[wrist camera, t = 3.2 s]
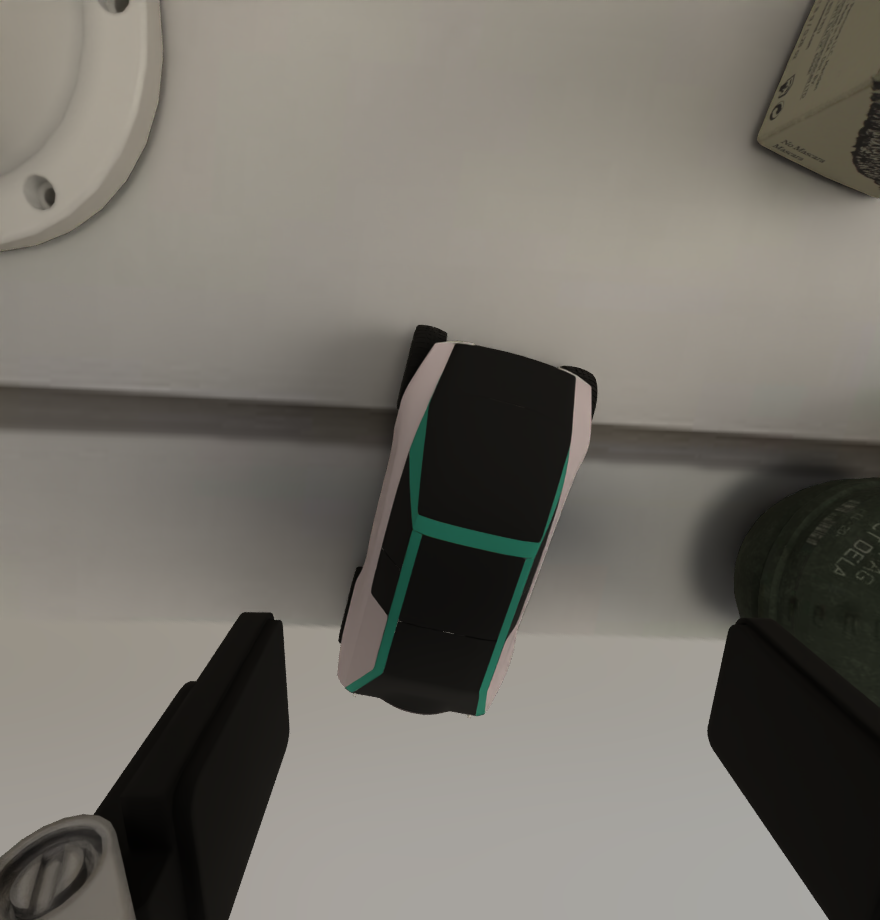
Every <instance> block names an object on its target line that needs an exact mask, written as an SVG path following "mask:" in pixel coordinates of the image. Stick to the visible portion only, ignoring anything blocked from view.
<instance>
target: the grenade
mask: <svg viewBox="0 0 880 920" xmlns="http://www.w3.org/2000/svg"><path fill="white" fill-rule="evenodd" d="M734 593H735V599H736V604H737V607H738V611H739V614H740V617H741V618H770V619H773V620H774V621H776V622H777V623H779V624H780V625H781V626H782V627H783V628H785V629H786V630H787V631H788V632H789V633H791V634H792V635H793V636H794V637H795V638H797V639H798V640H799V641H800V642H801V643H803V644H804V645H805V646H806V647H807V648H809V649H810V650H811V651H812V652H813V653H815V654H816V655H817V656H818V657H819V658H821V659H822V660H823V661H824V662H825V663H827V664H828V665H829V666H830V667H831V668H833V669H834V670H835V671H836V672H837V673H839V674H840V675H841V676H842V677H843V678H845V679H846V680H847V681H848V682H850V683H851V684H852V685H853V686H854V687H856V688H857V689H858V690H859V691H860V692H862V693H863V694H864V695H865V696H866V697H868V698H869V699H870V700H871V701H872V702H874V703H875V704H876V705H877V706H878V707H880V478H863V479H846V480H835V481H829V482H826V483H822V484H819V485H815V486H812V487H809V488H805V489H803V490H801V491H799V492H796V493H794V494H792V495H790V496H788V497H786V498H784V499H783V500H781V501H780V502H778V503H777V504H775V505H774V506H772V507H771V508H770V509H768V510H767V511H766V512H765V513H764V514H763V515H761V516H760V518H759V519H758V520H757V521H756V523H755V524H754V525H753V526H752V528H751V529H750V531H749V532H748V534H747V535H746V537H745V539H744V541H743V543H742V545H741V548H740V550H739V553H738V557H737V560H736V564H735V572H734Z"/></svg>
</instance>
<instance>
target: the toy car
mask: <svg viewBox="0 0 880 920" xmlns="http://www.w3.org/2000/svg"><path fill="white" fill-rule="evenodd" d="M446 341H447V333H446V332H444V331H442V330H440V329H438V328H435V327H434V328H433V327H432V326H427V325H418V326H417V327H416V330H415V333H414V336H413V340H412V344H411V348H410V352H409V356H408V360H407V364H406V368H405V372H404V376H403V380H402V384H401V388H400V392H399V397H398V401H397V409H398V410H399V412H398V415H397V419H396V423H395V427H394V435H393V443H392V449H391V453H390V458H389V462H388V466H387V470H386V474H385V478H384V482H383V486H382V490H381V494H380V498H379V502H378V506H377V510H376V514H375V518H374V522H373V527H372V531H371V536H370V541H369V546H368V551H367V556H366V560H365V564H364V566H363V567H357V568H356V571H355V574H354V577H353V581H352V585H351V589H350V593H349V597H348V601H347V605H346V609H345V613H344V617H343V621H342V625H341V629H340V634H339V640H338V641H339V643H341V647H340V654H339V664H338V678H339V680H340V682H341V683H342V685H343V686H344V687H345V689H347V690H348V691H349V692H351V693H353V696H354V697H356V694H361V695H367V696H372V697H377V698H380V699H382V700H384V701H385V702H387V703H389V704H390V705H392V706H394V707H396V708H398V709H401V710H403V711H406V712H410V713H416V714H423V715H432V714H439V713H443V712H448V711H452V712H458V713H462V714H467V715H468V718H471V716H472V715H473V716H480V715H484V714H485V712H486V711H487V710H488V709H489V707H490V705H491V703H492V701H493V699H494V697H495V696H496V694H497V692H498V690H499V688H500V686H501V684H502V682H503V680H504V677H505V675H506V672H507V670H508V667H509V664H510V662H511V659H512V655H513V651H514V647H515V641H516V635H517V630H518V628H519V625H520V622H521V620H522V617H523V615H524V612H525V609H526V607H527V604H528V601H529V599H530V596H531V593H532V591H533V588H534V585H535V583H536V580H537V577H538V575H539V572H540V569H541V566H542V564H543V561H544V558H545V555H546V553H547V550H548V547H549V545H550V542H551V539H552V536H553V534H554V531H555V528H556V525H557V523H558V520H559V517H560V515H561V512H562V509H563V506H564V504H565V501H566V498H567V496H568V493H569V490H570V488H571V485H572V483H573V480H574V478H575V476H576V473H577V471H578V469H579V467H580V465H581V463H582V461H583V459H584V457H585V455H586V453H587V450H588V447H589V442H590V435H591V421H592V419H593V414H594V411H595V408H596V403H597V383H596V379H595V377H594V376H593V374H591V373H590V372H588V371H586V370H583V369H581V368H578V367H571V366H561V367H557V368H556V367H553V366H551V365H548V364H545V363H542V362H539V361H536V360H533V359H530V358H526V357H523V356H520V355H516V354H512V353H508V352H504V351H500V350H496V349H491V348H486V347H482V346H477V345H475V343H470V342H463V341H449V342H446ZM409 450H410V456H409ZM404 465H405V466H404ZM403 468H404V469H403ZM402 471H403V472H402ZM401 474H402V476H401ZM400 478H401V479H400ZM382 548H383V549H384V550H383V549H382ZM402 564H403V566H402ZM396 565H397V566H396ZM376 566H377V568H376ZM401 568H402V569H401ZM399 569H400V570H401V573H400V570H399ZM387 615H388V616H387ZM398 618H399V622H398ZM400 621H402V622H400ZM397 622H398V624H397ZM396 625H397V627H396ZM515 625H516V626H515ZM443 631H444V632H443ZM394 632H395V633H394ZM447 632H449V633H447ZM451 633H453V634H451Z"/></svg>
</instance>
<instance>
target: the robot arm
mask: <svg viewBox="0 0 880 920" xmlns="http://www.w3.org/2000/svg"><path fill="white" fill-rule="evenodd" d="M162 63H163V42H162V28H161V14H160V2H159V0H0V252H1V251H6V250H12V249H18V248H24V247H30V246H36V245H39V244H41V243H44V242H46V241H49V240H51V239H53V238H56V237H58V236H61V235H63V234H66V233H68V232H70V231H72V230H74V229H75V228H76V227H78V226H79V225H81V224H82V223H83V222H85V221H86V220H88V219H89V218H90V217H92V216H93V215H94V214H96V213H97V212H99V211H100V210H101V209H102V208H103V207H104V206H105V205H106V204H107V203H108V201H109V200H110V199H111V198H112V197H113V196H114V195H115V193H116V192H117V191H118V190H119V189H120V188H121V186H122V185H123V184H124V183H125V182H126V181H127V179H128V177H129V175H130V174H131V172H132V170H133V168H134V166H135V164H136V162H137V160H138V159H139V157H140V155H141V153H142V151H143V149H144V147H145V145H146V143H147V140H148V136H149V133H150V130H151V126H152V123H153V119H154V116H155V113H156V109H157V106H158V102H159V93H160V83H161V73H162ZM707 731H708V739H709V742H710V745H711V747H712V749H713V750H714V752H715V753H716V755H717V756H718V757H719V759H720V761H721V762H722V764H723V765H724V767H725V768H726V769H727V771H728V772H729V774H730V775H731V777H732V778H733V780H734V781H735V783H736V784H737V786H738V787H739V789H740V790H741V791H742V793H743V794H744V796H745V797H746V799H747V800H748V802H749V803H750V805H751V806H752V808H753V809H754V810H755V812H756V813H757V815H758V816H759V818H760V819H761V821H762V822H763V824H764V825H765V827H766V828H767V830H768V831H769V832H770V834H771V835H772V837H773V838H774V840H775V841H776V843H777V844H778V845H779V847H780V849H781V850H782V852H783V853H784V854H785V856H786V857H787V859H788V860H789V862H790V863H791V865H792V866H793V868H794V869H795V871H796V872H797V873H798V875H799V876H800V878H801V879H802V881H803V882H804V884H805V885H806V887H807V888H808V890H809V891H810V892H811V894H812V895H813V897H814V898H815V900H816V901H817V903H818V904H819V906H820V907H821V909H822V910H823V911H824V913H825V914H826V916H827V917H828V919H829V920H880V707H878V706H877V705H876V704H875V703H874V702H872V701H871V700H870V699H869V698H868V697H866V696H865V695H864V694H863V693H862V692H860V691H859V690H858V689H857V688H856V687H854V686H853V685H852V684H851V683H850V682H848V681H847V680H846V679H845V678H843V677H842V676H841V675H840V674H839V673H837V672H836V671H835V670H834V669H833V668H831V667H830V666H829V665H828V664H827V663H825V662H824V661H823V660H822V659H821V658H819V657H818V656H817V655H816V654H815V653H813V652H812V651H811V650H810V649H809V648H807V647H806V646H805V645H804V644H803V643H801V642H800V641H799V640H798V639H797V638H795V637H794V636H793V635H792V634H791V633H789V632H788V631H787V630H786V629H785V628H783V627H782V626H781V625H780V624H779V623H777V622H776V621H774V620H773V619H770V618H740V619H738V620H737V622H736V624H735V625H732V626H731V627H730V628H729V631H728V635H727V639H726V644H725V649H724V653H723V658H722V663H721V668H720V672H719V677H718V682H717V686H716V691H715V696H714V700H713V705H712V710H711V715H710V719H709V724H708V730H707ZM288 738H289V714H288V699H287V683H286V668H285V653H284V637H283V624H282V621H281V620H274V617H273V614H272V613H269V612H244V613H242V614H241V615H240V616H239V617H238V619H237V620H236V622H235V623H234V625H233V626H232V628H231V630H230V631H229V632H228V634H227V636H226V637H225V639H224V640H223V642H222V643H221V645H220V646H219V648H218V649H217V651H216V652H215V654H214V655H213V657H212V658H211V660H210V661H209V663H208V664H207V666H206V667H205V669H204V670H203V672H202V673H201V675H200V676H199V678H198V679H197V681H190V682H188V683H186V684H185V685H184V686H183V687H182V688H181V689H180V690H179V692H178V693H177V695H176V696H175V698H174V699H173V701H172V702H171V703H170V705H169V706H168V708H167V709H166V711H165V712H164V714H163V715H162V716H161V718H160V719H159V721H158V722H157V724H156V725H155V727H154V728H153V729H152V731H151V732H150V734H149V735H148V737H147V738H146V739H145V741H144V742H143V744H142V745H141V747H140V748H139V750H138V751H137V752H136V754H135V755H134V757H133V758H132V760H131V761H130V763H129V764H128V766H127V767H126V768H125V770H124V771H123V773H122V774H121V776H120V777H119V779H118V780H117V782H116V783H115V785H114V786H113V787H112V789H111V790H110V792H109V793H108V795H107V796H106V798H105V799H104V800H103V802H102V803H101V805H100V806H99V808H98V809H97V810H96V812H95V813H94V815H86V814H82V815H77V816H72V817H67V818H63V819H61V820H58V821H56V822H53V823H51V824H49V825H46V826H43V827H42V828H40V829H38V830H37V831H35V832H34V833H32V834H30V835H29V836H27V837H25V838H24V839H22V840H21V841H20V842H18V843H17V844H16V845H15V846H13V847H12V848H11V849H10V850H9V851H7V852H6V853H5V854H4V855H2V856H1V857H0V920H228V919H229V916H230V913H231V910H232V907H233V904H234V901H235V898H236V895H237V892H238V890H239V886H240V884H241V881H242V878H243V875H244V872H245V869H246V866H247V863H248V860H249V857H250V854H251V851H252V848H253V845H254V842H255V839H256V836H257V833H258V830H259V828H260V825H261V821H262V819H263V816H264V813H265V810H266V807H267V804H268V801H269V798H270V795H271V792H272V789H273V786H274V783H275V780H276V777H277V774H278V771H279V768H280V765H281V762H282V759H283V756H284V754H285V751H286V747H287V744H288Z"/></svg>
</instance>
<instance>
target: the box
mask: <svg viewBox="0 0 880 920" xmlns="http://www.w3.org/2000/svg"><path fill="white" fill-rule="evenodd" d="M757 139H758V142H759V143H760V144H761V145H762V146H764V147H766V148H768V149H770V150H772V151H774V152H776V153H778V154H780V155H782V156H784V157H785V158H787V159H789V160H791V161H793V162H795V163H798V164H800V165H802V166H804V167H806V168H808V169H810V170H812V171H814V172H816V173H818V174H820V175H822V176H824V177H827V178H829V179H831V180H834V181H836V182H839V183H841V184H843V185H845V186H848V187H850V188H853V189H855V190H858V191H860V192H863V193H865V194H867V195H870V196H872V197H875V198H880V0H816V1H815V3H814V5H813V7H812V10H811V12H810V14H809V16H808V18H807V20H806V23H805V25H804V27H803V29H802V32H801V34H800V37H799V39H798V41H797V43H796V46H795V48H794V50H793V52H792V55H791V57H790V59H789V61H788V64H787V66H786V69H785V71H784V74H783V76H782V79H781V81H780V83H779V85H778V87H777V90H776V92H775V94H774V97H773V99H772V102H771V104H770V107H769V109H768V112H767V114H766V116H765V119H764V121H763V124H762V126H761V129H760V132H759V135H758V138H757Z"/></svg>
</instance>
